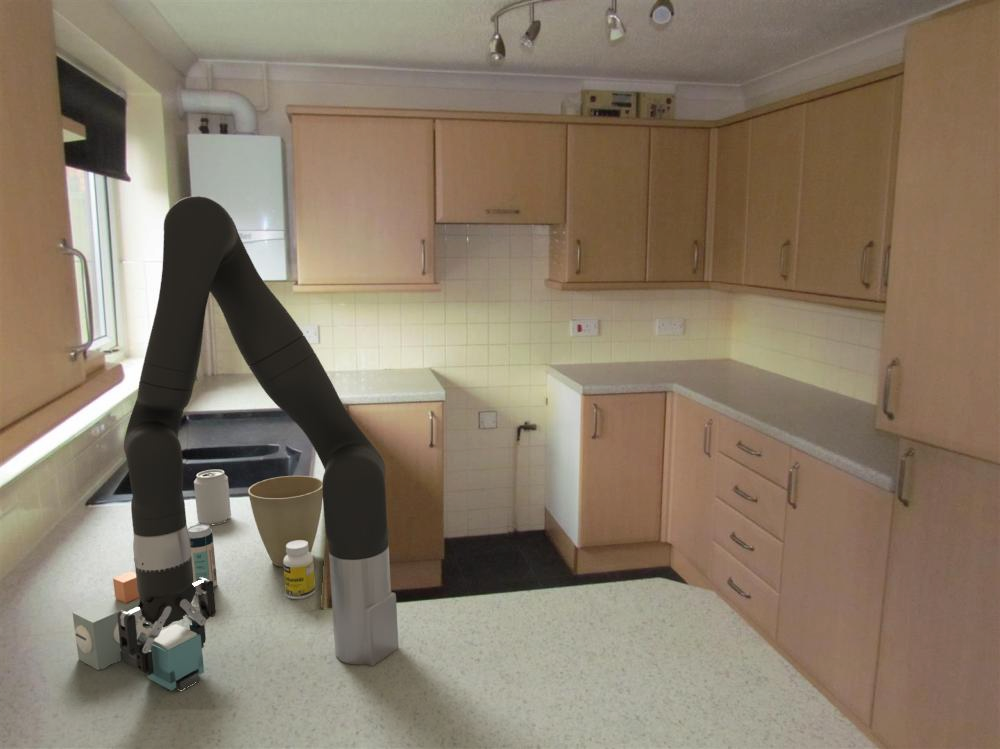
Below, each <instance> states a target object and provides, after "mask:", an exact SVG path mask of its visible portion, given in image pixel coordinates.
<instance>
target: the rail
mask: <svg viewBox="0 0 1000 749" xmlns="http://www.w3.org/2000/svg"><path fill="white" fill-rule="evenodd" d="M120 655H121V660H120V661H122V660H123V662H124V661H125V662H124V663H126V662H127V663H126V664H128V663H129V664H128V665H130V664H131V665H130V666H132V665H133V666H134V668H135V667H136V669H137V661H136V654H134V655H131V654H129V653H127V652H125V651H123V650H122V651H120ZM133 666H132V667H133ZM198 681H200V675H199V672H197V671H193V672H191V673H189V674H187V675H186V676H184V677H182V678H180V679H178V680H176V688H177V689H179V690H183V689H184V688H187V687H188V686H190V685H192V684H194V683H195V682H198ZM198 683H199V682H198ZM194 685H195V684H194ZM177 689H176V690H177ZM187 689H188V688H187ZM179 690H178V691H179Z"/></svg>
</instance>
